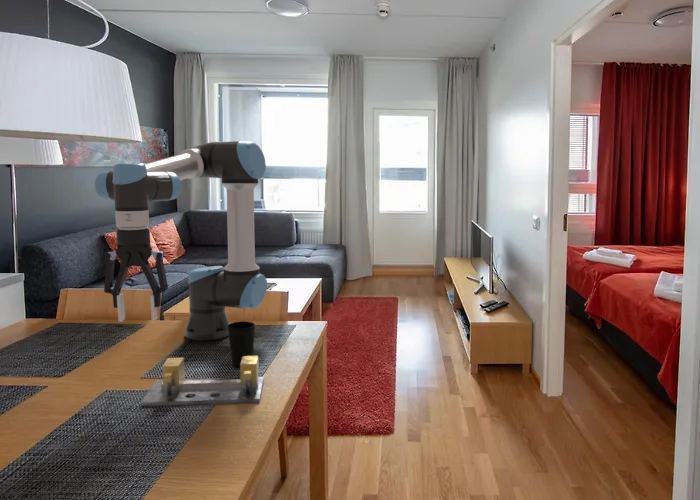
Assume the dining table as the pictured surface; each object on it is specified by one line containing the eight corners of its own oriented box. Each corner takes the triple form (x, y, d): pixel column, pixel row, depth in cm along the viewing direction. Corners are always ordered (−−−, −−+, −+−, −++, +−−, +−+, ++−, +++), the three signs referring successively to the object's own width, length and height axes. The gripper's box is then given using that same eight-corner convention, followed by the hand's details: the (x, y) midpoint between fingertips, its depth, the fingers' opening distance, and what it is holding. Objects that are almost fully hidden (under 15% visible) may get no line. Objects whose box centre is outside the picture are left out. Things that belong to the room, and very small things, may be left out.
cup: (249, 371, 153) (248, 329, 151) (224, 369, 154) (223, 328, 153) (259, 361, 160) (258, 322, 159) (235, 359, 162) (234, 320, 160)
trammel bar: (165, 383, 141) (164, 358, 140) (259, 381, 143) (258, 355, 142) (155, 399, 132) (153, 371, 131) (255, 396, 134) (255, 368, 133)
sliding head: (169, 382, 141) (168, 357, 140) (185, 381, 141) (183, 357, 140) (159, 397, 132) (158, 371, 131) (176, 397, 132) (175, 371, 131)
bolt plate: (156, 383, 144) (156, 379, 144) (263, 380, 146) (263, 376, 146) (141, 406, 130) (140, 402, 130) (259, 402, 132) (259, 398, 132)
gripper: (83, 230, 127) (90, 325, 131) (171, 229, 129) (176, 323, 132) (95, 226, 135) (101, 316, 138) (179, 226, 136) (183, 315, 140)
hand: (138, 319), depth 135 cm, fingers open, 7 cm apart
